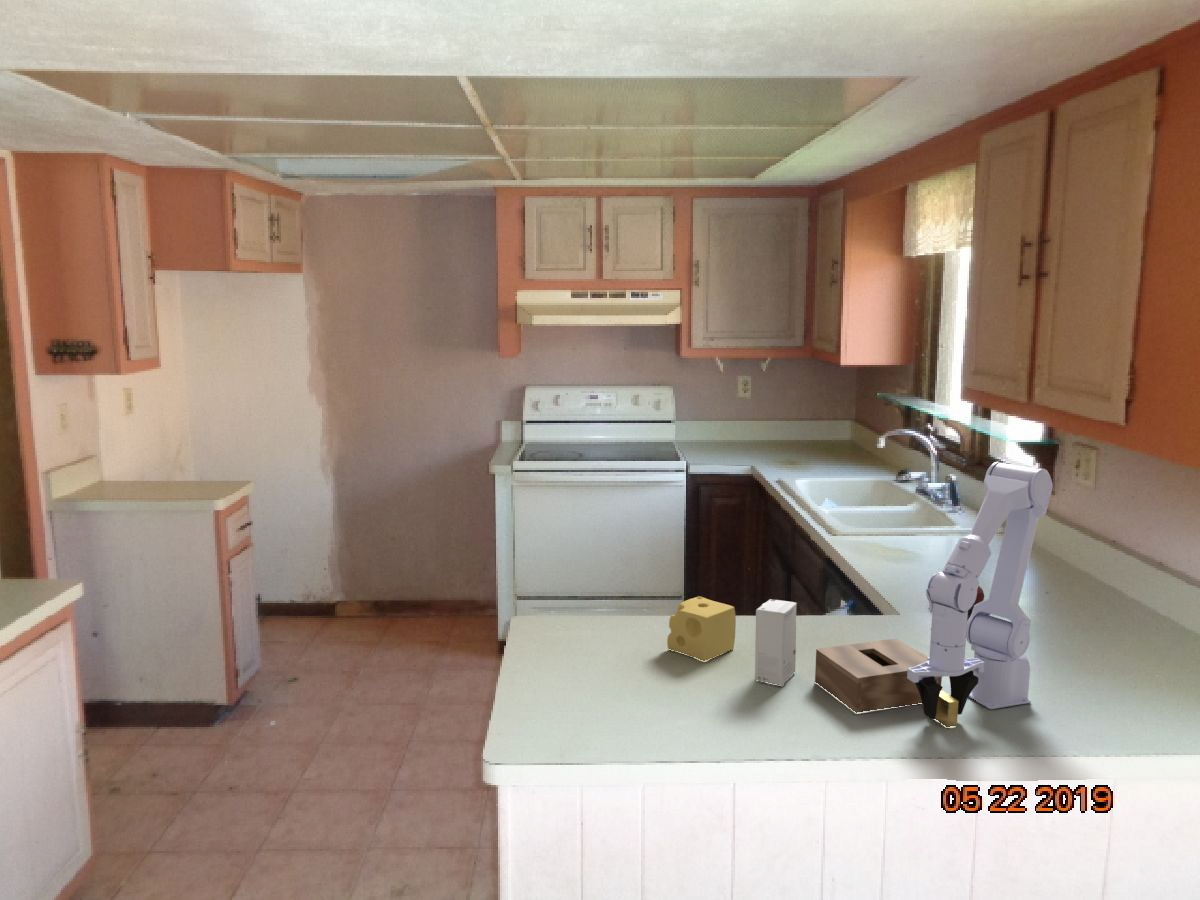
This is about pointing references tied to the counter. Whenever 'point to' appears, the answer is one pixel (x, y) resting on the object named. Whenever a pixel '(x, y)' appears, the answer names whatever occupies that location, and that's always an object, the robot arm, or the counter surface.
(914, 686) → the coin box
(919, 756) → the counter surface
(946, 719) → the block
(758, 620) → the skincare box
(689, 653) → the cheese
